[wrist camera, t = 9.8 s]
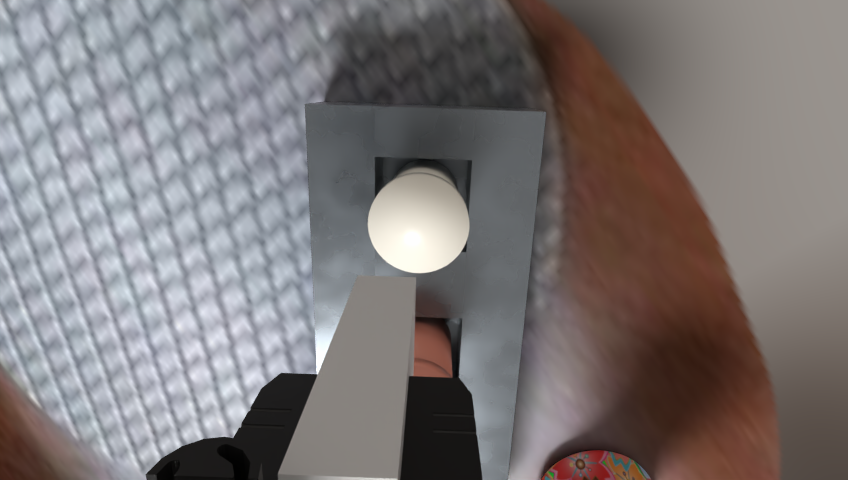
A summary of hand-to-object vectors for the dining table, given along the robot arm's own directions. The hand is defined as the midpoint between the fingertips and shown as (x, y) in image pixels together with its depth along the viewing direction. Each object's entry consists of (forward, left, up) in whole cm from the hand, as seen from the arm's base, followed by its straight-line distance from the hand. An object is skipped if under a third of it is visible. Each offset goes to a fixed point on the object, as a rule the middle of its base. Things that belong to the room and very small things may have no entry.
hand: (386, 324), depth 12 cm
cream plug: (0, 0, -16) cm, 16 cm away
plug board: (0, -9, -17) cm, 20 cm away
